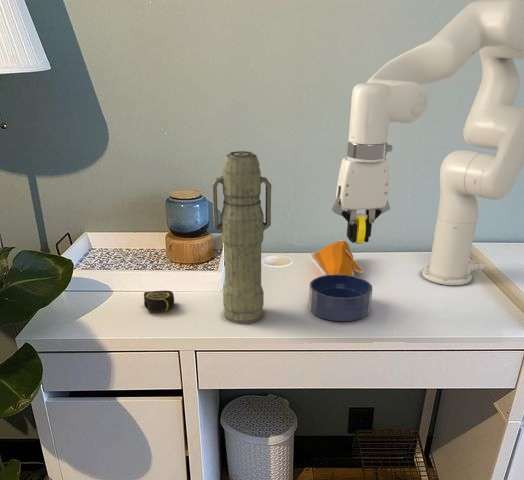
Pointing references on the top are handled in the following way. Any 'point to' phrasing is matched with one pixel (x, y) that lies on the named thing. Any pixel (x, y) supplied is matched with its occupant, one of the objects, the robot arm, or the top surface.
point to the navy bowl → (340, 297)
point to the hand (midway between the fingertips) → (358, 239)
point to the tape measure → (159, 301)
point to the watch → (360, 227)
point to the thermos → (242, 234)
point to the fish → (335, 260)
